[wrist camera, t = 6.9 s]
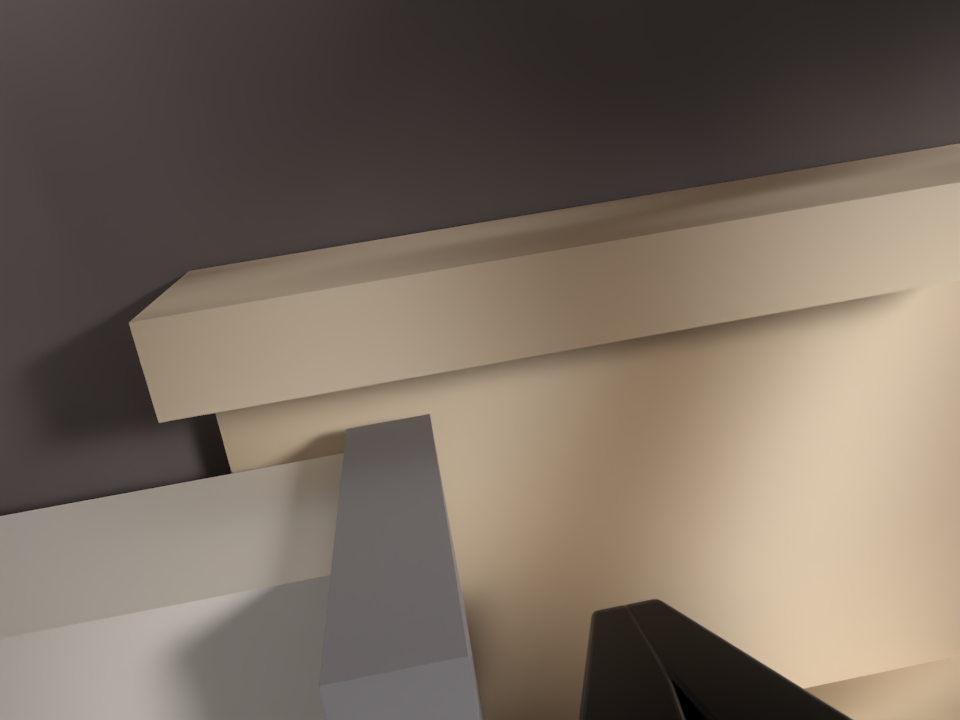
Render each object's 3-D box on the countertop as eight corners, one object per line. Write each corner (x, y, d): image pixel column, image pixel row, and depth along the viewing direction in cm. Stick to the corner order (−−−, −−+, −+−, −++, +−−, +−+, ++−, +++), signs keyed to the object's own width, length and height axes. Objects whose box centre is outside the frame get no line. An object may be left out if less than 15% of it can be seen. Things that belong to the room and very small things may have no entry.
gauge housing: (976, 141, 10) (1146, 150, 8) (947, 683, 13) (1068, 806, 11) (188, 270, 9) (128, 322, 7) (334, 813, 12) (324, 975, 10)
